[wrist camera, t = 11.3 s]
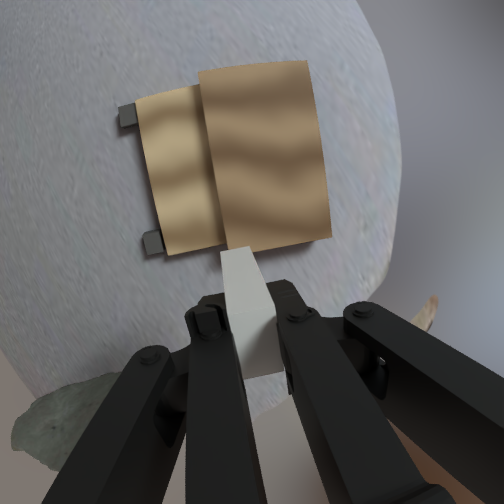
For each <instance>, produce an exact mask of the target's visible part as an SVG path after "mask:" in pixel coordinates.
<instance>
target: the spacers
mask: <svg viewBox="0 0 504 504" xmlns="http://www.w3.org/2000/svg"><path fill="white" fill-rule="evenodd" d="M118 110H119V118H120V124H121V127H122V128H128V127H131V126H135V125H139V122H138V116H137V110H136V104H135V103H132V104H128V105H124V106H121V107H118ZM142 236H143V240H144V244H145V248H146V252H147V255H150V254H155V253H161V252H164V250H165V244H164V240H163V236H162V232H161V229H158V230H153V231H149V232H145V233H144V234H143V235H142Z"/></svg>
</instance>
